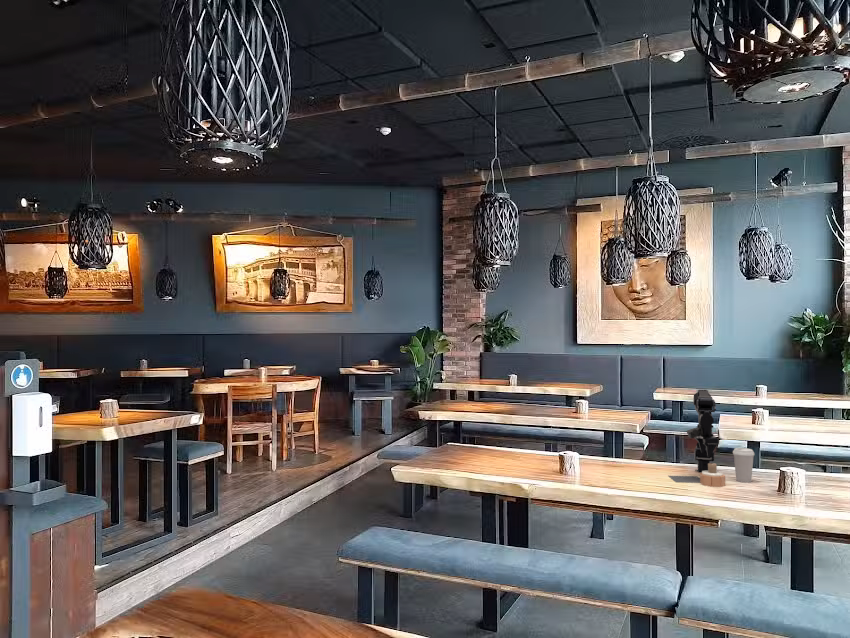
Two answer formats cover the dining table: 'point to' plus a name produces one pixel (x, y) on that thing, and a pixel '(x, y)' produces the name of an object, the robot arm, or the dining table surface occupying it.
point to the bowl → (712, 481)
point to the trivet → (685, 479)
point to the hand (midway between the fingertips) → (705, 455)
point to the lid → (712, 471)
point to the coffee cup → (743, 464)
